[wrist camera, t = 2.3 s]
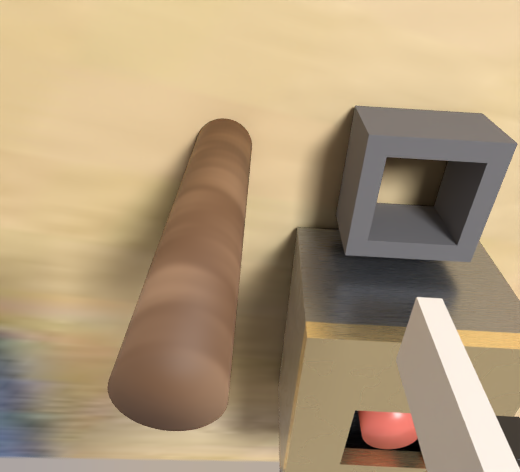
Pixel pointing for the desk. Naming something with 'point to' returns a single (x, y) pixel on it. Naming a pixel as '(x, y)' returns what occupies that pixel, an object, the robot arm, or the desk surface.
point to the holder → (450, 192)
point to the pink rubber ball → (387, 429)
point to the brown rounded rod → (190, 294)
